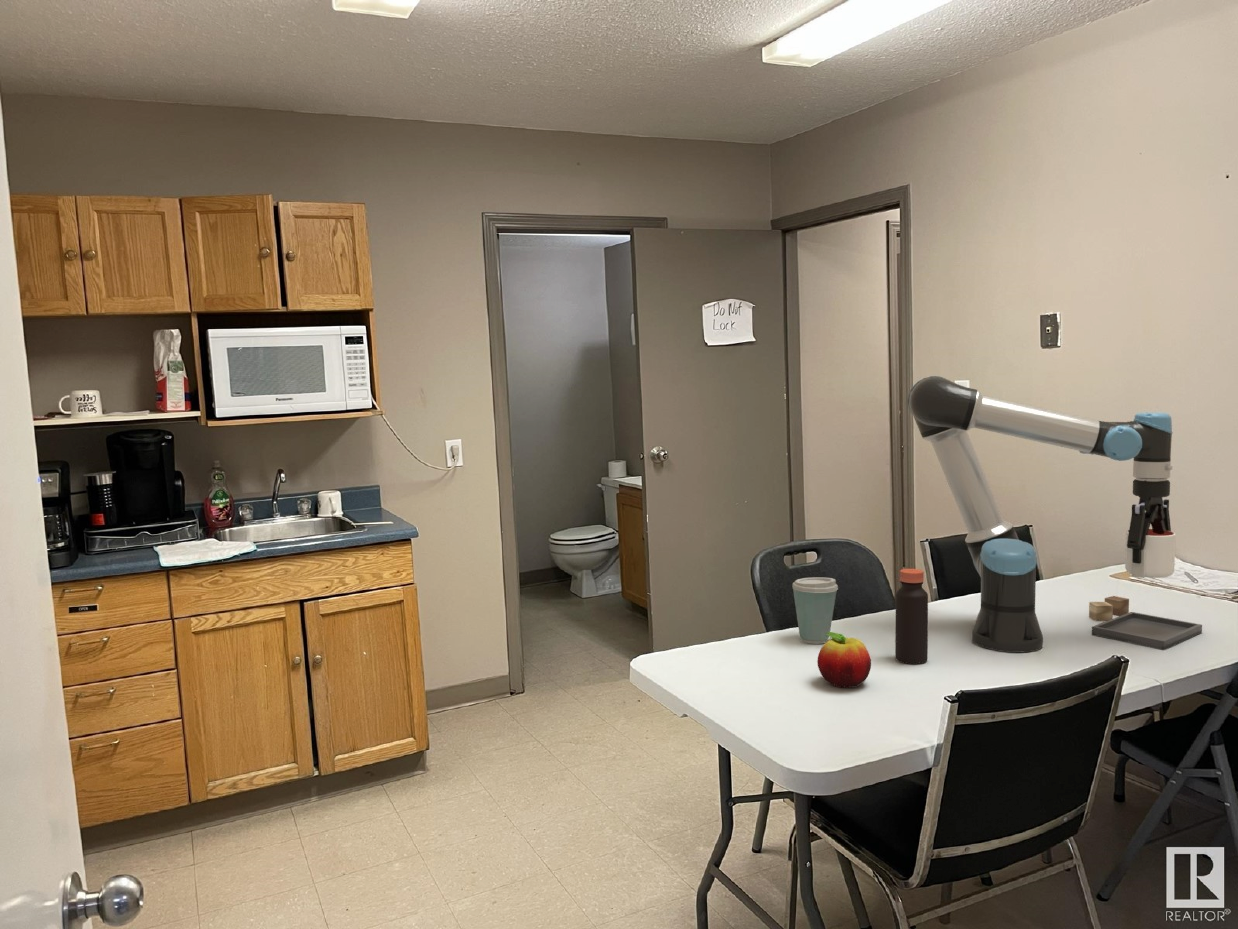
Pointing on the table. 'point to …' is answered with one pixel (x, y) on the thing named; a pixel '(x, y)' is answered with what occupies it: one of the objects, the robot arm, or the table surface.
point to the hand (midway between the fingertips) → (1148, 573)
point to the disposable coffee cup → (814, 607)
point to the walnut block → (1118, 605)
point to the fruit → (844, 661)
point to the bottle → (911, 618)
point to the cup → (1156, 554)
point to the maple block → (1100, 611)
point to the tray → (1147, 630)
